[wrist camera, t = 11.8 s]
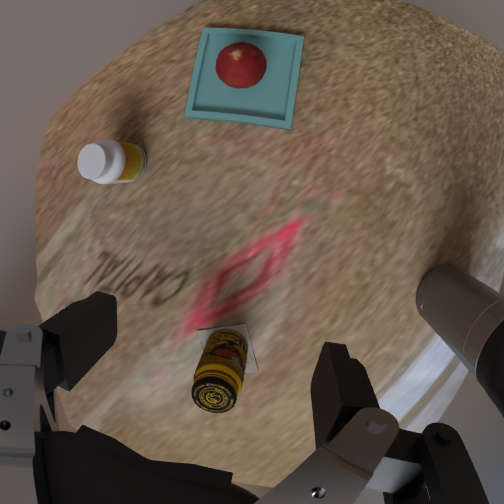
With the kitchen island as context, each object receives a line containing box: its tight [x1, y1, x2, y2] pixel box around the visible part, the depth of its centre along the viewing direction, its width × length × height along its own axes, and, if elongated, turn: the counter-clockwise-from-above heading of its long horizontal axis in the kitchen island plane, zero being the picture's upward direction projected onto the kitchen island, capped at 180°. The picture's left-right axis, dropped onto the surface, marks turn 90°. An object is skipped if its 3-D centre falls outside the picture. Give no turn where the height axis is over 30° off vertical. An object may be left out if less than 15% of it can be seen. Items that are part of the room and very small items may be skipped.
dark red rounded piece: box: [215, 41, 267, 89], centre depth 29 cm, size 6×6×8 cm
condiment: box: [192, 324, 258, 413], centre depth 37 cm, size 7×8×12 cm
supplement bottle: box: [78, 139, 146, 184], centre depth 33 cm, size 5×5×10 cm
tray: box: [185, 28, 304, 130], centre depth 33 cm, size 13×13×2 cm
